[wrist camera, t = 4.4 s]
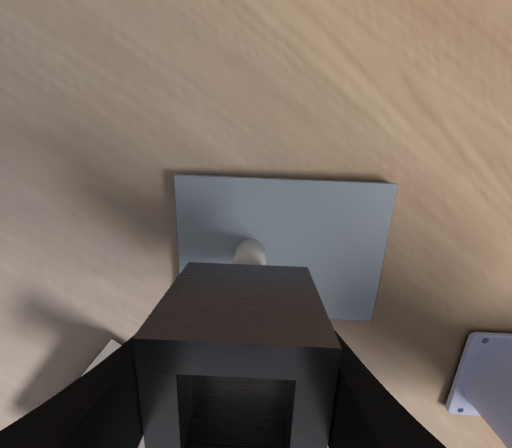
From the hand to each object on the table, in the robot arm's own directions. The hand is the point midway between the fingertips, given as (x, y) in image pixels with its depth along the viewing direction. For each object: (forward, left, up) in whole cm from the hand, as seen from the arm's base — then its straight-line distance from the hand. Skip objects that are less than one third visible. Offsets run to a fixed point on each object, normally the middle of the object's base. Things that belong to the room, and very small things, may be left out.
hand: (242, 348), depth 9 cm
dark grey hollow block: (0, +1, -3) cm, 3 cm away
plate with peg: (-2, -1, -9) cm, 9 cm away
